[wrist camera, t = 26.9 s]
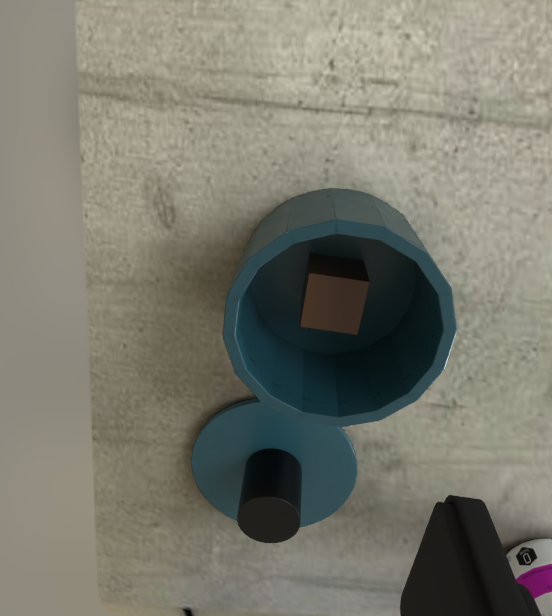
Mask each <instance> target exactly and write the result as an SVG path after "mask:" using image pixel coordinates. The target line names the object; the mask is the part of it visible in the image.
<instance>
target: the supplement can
mask: <svg viewBox="0 0 552 616" xmlns="http://www.w3.org/2000/svg"><path fill="white" fill-rule="evenodd" d="M506 556H507V559H508V561H509V564H510V566H511V569H512V571H513V574H514V576H515V579H516V581H517V583H520V584H522V585H524V586H525V587H526V588H527V589H528V590H529V591H530V592H531V594H532V596H533V598H534V600H535V601H536V604H537V606H538V609H539V611H540V613H541V616H552V539H535V540H532V541H528V542H524V543H522V544H520V545H518V546H516V547H515V548H513V549H512V550H511V551H510V552H509V553H508V554H507V555H506Z"/></svg>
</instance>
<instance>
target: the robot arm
mask: <svg viewBox="0 0 552 616" xmlns="http://www.w3.org/2000/svg"><path fill="white" fill-rule="evenodd" d="M400 613H401V616H541V613H540V611H539V609H538V606H537V604H536V601H535V600H534V598H533V596H532V594H531V592H530V591H529V590H528V589H527V588H526V587H525V586H524V585H522V584H520V583H517V581H516V579H515V576H514V574H513V571H512V569H511V566H510V564H509V561H508V559H507V556H506V554H505V551H504V549H503V547H502V544H501V542H500V539H499V537H498V534H497V532H496V529H495V527H494V524H493V522H492V519H491V517H490V514H489V512H488V510H487V507H486V505H485V503H484V502H483V501H482V500H480V499H473V498H466V497H459V496H452V495H449V496H448V497H447V498H446V500H445V502H444V503H443V502H437V503H436V505H435V507H434V509H433V512H432V515H431V517H430V520H429V523H428V525H427V528H426V531H425V533H424V536H423V539H422V542H421V544H420V547H419V550H418V552H417V555H416V558H415V560H414V563H413V566H412V569H411V571H410V574H409V577H408V579H407V582H406V585H405V587H404V590H403V593H402V596H401V604H400Z"/></svg>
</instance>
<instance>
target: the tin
mask: <svg viewBox="0 0 552 616" xmlns="http://www.w3.org/2000/svg"><path fill="white" fill-rule="evenodd" d="M309 253H313V254H320V255H327V256H333V257H340V258H347V259H354V260H361V261H364V263H365V266H366V270H367V274H368V277H369V281H370V284H369V288H368V293H367V297H366V301H365V306H364V310H363V314H362V318H361V323H360V327H359V331H358V335H353V334H346V333H340V332H333V331H326V330H319V329H312V328H306V327H300V311H301V299H302V293H303V287H304V281H305V275H306V269H307V263H308V257H309ZM456 332H457V325H456V318H455V310H454V303H453V295H452V289H451V287H450V285H449V283H448V282H447V280H446V279H445V277H444V276H443V274H442V273H441V271H440V270H439V268H438V267H437V265H436V263H435V262H434V260H433V259H432V257H431V256H430V254H429V253H428V251H427V250H426V248H425V247H424V245H423V243H422V242H421V240H420V239H419V237H418V236H417V234H416V233H415V231H414V230H413V228H412V227H411V226H410V224H409V223H408V221H407V220H406V218H405V217H404V215H403V214H402V213H400V212H398V211H397V210H395V209H394V208H393V207H391V206H390V205H388V204H387V203H386V202H384V201H382V200H380V199H378V198H376V197H374V196H372V195H370V194H366V193H363V192H359V191H354V190H349V189H322V190H317V191H311V192H308V193H305V194H302V195H299V196H297V197H294V198H291V199H290V200H288V201H286V202H285V203H283V204H282V205H280V206H279V207H277V208H276V209H275V210H274V211H272V212H271V213H270V214H269V215H268V216H267V217H266V218H264V219H263V220H262V221H261V222H260V223H259V225H258V227H257V229H256V230H255V232H254V233H253V235H252V237H251V239H250V241H249V242H248V244H247V246H246V248H245V249H244V251H243V253H242V256H241V259H240V261H239V264H238V267H237V269H236V272H235V274H234V277H233V280H232V282H231V285H230V288H229V290H228V293H227V296H226V304H225V314H224V324H223V334H222V335H223V340H224V343H225V345H226V348H227V351H228V354H229V357H230V360H231V363H232V365H233V368H234V371H235V373H236V375H237V376H238V377H239V378H240V379H241V380H242V382H243V383H244V384H245V385H246V386H247V387H248V388H249V389H250V390H251V391H252V393H253V394H254V395H255V396H256V397H257V398H258V399H259V400H260V401H261V402H262V403H263V404H265V405H267V406H269V407H271V408H273V409H275V410H277V411H279V412H281V413H283V414H285V415H286V416H288V417H290V418H292V419H294V420H296V421H299V422H306V423H313V424H319V425H326V426H333V427H344V426H350V425H356V424H362V423H368V422H374V421H379V420H382V419H383V418H385V417H387V416H389V415H391V414H393V413H395V412H396V411H398V410H400V409H402V408H404V407H406V406H408V405H409V404H411V403H413V402H415V401H416V400H418V399H419V398H420V397H421V396H422V394H423V393H424V392H425V391H426V390H427V389H428V388H429V386H430V385H431V384H432V383H433V382H434V381H435V380H436V378H437V377H438V376H439V375H440V374H441V373H442V372H443V370H444V369H445V366H446V363H447V360H448V357H449V353H450V350H451V347H452V344H453V341H454V338H455V335H456Z"/></svg>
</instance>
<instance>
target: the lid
mask: <svg viewBox="0 0 552 616" xmlns="http://www.w3.org/2000/svg"><path fill="white" fill-rule="evenodd" d="M192 471H193V476H194V478H195V481H196V484H197V486H198V488H199V489H200V491H201V492H202V494H203V495H204V497H205V498H206V499H207V500H208V501H209V502H210V503H211V504H212V505H213V506H214V507H215V508H216V509H218V510H219V511H220V512H222V513H223V514H225V515H226V516H228V517H230V518H232V519H234V520H236V521H237V522H238V525H239V527H240V529H241V530H242V531H243V532H244V533H245V534H246V535H247V536H248V537H250V538H252V539H254V540H256V541H259V542H264V543H278V542H283V541H286V540H288V539H290V538H291V537H293V536H294V535H295V534H296V533H297V531H298V530H299V528H300V527H304V526H308V525H311V524H314V523H316V522H319V521H321V520H323V519H325V518H326V517H328V516H330V515H331V514H333V513H334V512H335V511H337V510H338V509H339V508H340V507H341V506H342V505H343V504H344V502H345V501H346V500H347V499H348V497H349V495H350V494H351V492H352V490H353V487H354V485H355V482H356V476H357V461H356V455H355V451H354V448H353V445H352V443H351V441H350V439H349V437H348V436H347V434H346V433H345V432H344V430H343V429H342V428H341V427H333V426H326V425H319V424H313V423H306V422H299V421H296V420H294V419H292V418H290V417H288V416H286V415H285V414H283V413H281V412H279V411H277V410H275V409H273V408H271V407H269V406H267V405H265V404H263V403H262V402H261V401H260V400H259V399H251V400H247V401H243V402H240V403H237V404H234V405H232V406H229V407H228V408H226V409H224V410H222V411H220V412H219V413H218V414H216V415H215V416H213V417H212V418H211V419H210V420H209V421H208V422H207V423H206V424H205V426H204V427H203V428H202V429H201V431H200V433H199V435H198V436H197V439H196V441H195V444H194V447H193V452H192Z"/></svg>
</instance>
